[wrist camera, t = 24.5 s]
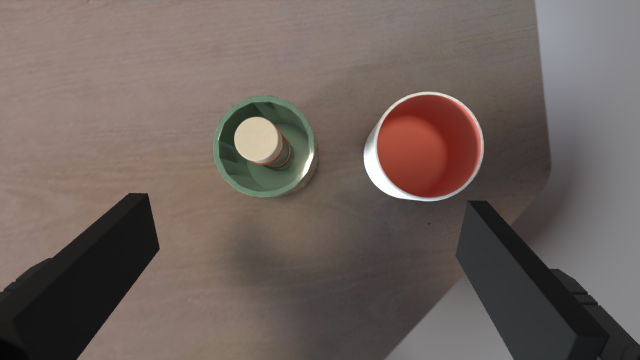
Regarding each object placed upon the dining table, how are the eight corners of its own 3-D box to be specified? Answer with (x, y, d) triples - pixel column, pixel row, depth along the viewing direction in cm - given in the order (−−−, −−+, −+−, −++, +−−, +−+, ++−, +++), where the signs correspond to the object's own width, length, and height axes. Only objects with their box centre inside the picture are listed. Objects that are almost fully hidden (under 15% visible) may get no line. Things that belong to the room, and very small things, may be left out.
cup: (450, 194, 40) (490, 195, 30) (366, 202, 41) (379, 206, 31) (441, 111, 41) (478, 85, 31) (358, 119, 41) (368, 97, 31)
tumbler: (328, 135, 41) (328, 114, 30) (303, 205, 41) (294, 210, 30) (258, 111, 41) (233, 82, 30) (233, 180, 41) (199, 177, 30)
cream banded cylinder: (295, 139, 41) (280, 116, 28) (294, 171, 40) (278, 162, 27) (264, 138, 41) (233, 114, 28) (262, 170, 41) (232, 161, 28)
